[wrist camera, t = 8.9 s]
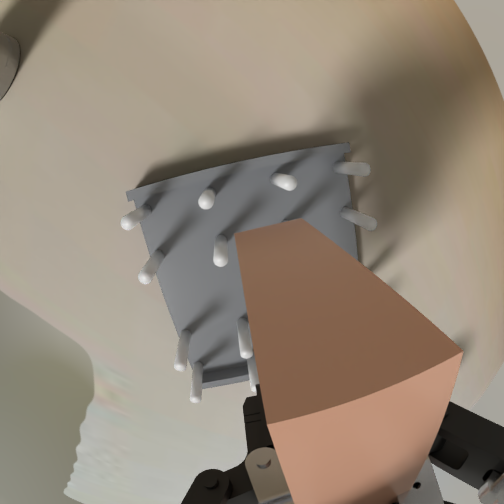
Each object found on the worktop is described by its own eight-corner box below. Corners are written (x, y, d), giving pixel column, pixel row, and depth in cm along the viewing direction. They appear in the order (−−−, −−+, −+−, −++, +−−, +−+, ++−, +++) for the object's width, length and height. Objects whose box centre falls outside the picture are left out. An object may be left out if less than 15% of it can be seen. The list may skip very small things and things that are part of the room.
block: (327, 422, 17) (375, 544, 8) (284, 433, 17) (316, 561, 8) (301, 217, 13) (463, 351, 3) (234, 233, 13) (266, 424, 3)
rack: (197, 374, 30) (194, 414, 24) (134, 188, 24) (109, 197, 18) (358, 334, 30) (382, 366, 24) (337, 143, 24) (368, 140, 18)
